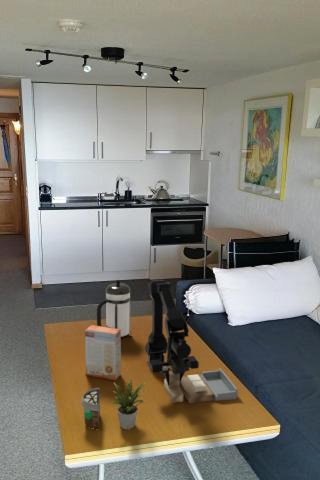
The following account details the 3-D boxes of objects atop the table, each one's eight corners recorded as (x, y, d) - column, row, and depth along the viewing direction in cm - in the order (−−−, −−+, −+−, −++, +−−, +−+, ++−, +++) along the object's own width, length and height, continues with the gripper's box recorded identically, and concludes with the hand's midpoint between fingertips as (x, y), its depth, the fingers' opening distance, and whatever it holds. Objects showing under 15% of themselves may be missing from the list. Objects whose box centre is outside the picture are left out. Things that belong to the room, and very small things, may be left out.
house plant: (154, 436, 154) (155, 391, 151) (114, 442, 150) (114, 397, 147) (143, 412, 168) (144, 371, 165) (106, 418, 164) (106, 376, 161)
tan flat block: (189, 403, 175) (189, 397, 174) (177, 382, 190) (177, 377, 190) (213, 400, 177) (213, 394, 177) (199, 380, 193) (200, 374, 192)
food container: (83, 412, 167) (82, 387, 165) (100, 411, 168) (99, 386, 166) (80, 432, 155) (79, 406, 153) (98, 432, 156) (98, 405, 154)
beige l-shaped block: (172, 402, 175) (173, 381, 173) (164, 385, 187) (164, 365, 185) (182, 401, 176) (183, 380, 174) (173, 384, 188) (174, 364, 186)
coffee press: (105, 329, 244) (105, 274, 239) (134, 331, 242) (135, 276, 237) (96, 342, 228) (96, 284, 222) (128, 344, 226) (128, 286, 220)
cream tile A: (194, 391, 178) (194, 387, 178) (191, 386, 182) (191, 381, 182) (205, 390, 179) (205, 386, 179) (201, 385, 184) (201, 380, 183)
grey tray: (215, 401, 177) (216, 391, 176) (200, 378, 194) (200, 370, 193) (237, 398, 179) (237, 389, 178) (219, 376, 196) (220, 367, 195)
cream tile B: (190, 385, 183) (190, 380, 183) (187, 379, 187) (187, 375, 187) (201, 384, 184) (201, 379, 184) (197, 378, 188) (197, 374, 188)
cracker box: (121, 374, 196) (121, 328, 192) (115, 381, 190) (115, 334, 186) (91, 369, 200) (91, 324, 196) (85, 375, 194) (84, 329, 190)
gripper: (156, 358, 168) (155, 397, 171) (204, 353, 172) (202, 391, 175) (149, 345, 178) (148, 382, 181) (194, 341, 183) (193, 377, 186)
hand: (173, 384), depth 181 cm, fingers closed on beige l-shaped block, 4 cm apart
